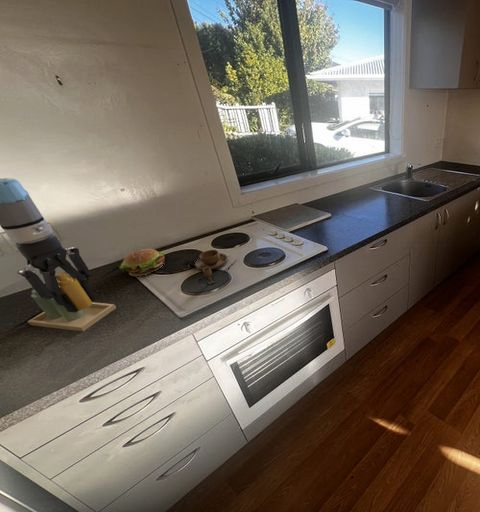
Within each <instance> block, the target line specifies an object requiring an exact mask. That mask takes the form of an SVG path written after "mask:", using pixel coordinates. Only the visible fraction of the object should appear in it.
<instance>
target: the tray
mask: <svg viewBox="0 0 480 512" xmlns="http://www.w3.org/2000/svg"><path fill="white" fill-rule="evenodd" d="M116 309H117V306H116V305H115V303H114V304H113V303H103V302H95V301H92V305H91V306H89V307H88V308H86V309H83V311H84V315H83V316H81V317H80V318H78V319H75V320H72V321H66V320H65V319H64V318H63V317H60V318H57V319H49V318H48V316H47V315H46V314H45V313H44V312H43V311H42V312H41V313H39V314H37V315H36V316H34V317H33V318H31V319H29V320H28V321H27V323H28V324H29V325H30V326H34V327H43V328H51V329H52V328H53V329H62V330H69V331H79V332H85V331H86V330H88V329H89V328H90V327H92V326H93V325H95V324H96V323H97V322H99V321H100V320H101V319H103V318H104V317H106V316H107V315H108V314H110V313H112V312H113V311H115V310H116Z"/></svg>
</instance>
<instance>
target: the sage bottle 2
mask: <svg viewBox="0 0 480 512" xmlns="http://www.w3.org/2000/svg"><path fill="white" fill-rule="evenodd" d="M49 300H50V301H51V303H52V304H53V305H54V306H55V308H56V309H57V310H58V312H59V313H60V314H61V315H62V317H63V318H64V319H65V320H66V321H72V320H75V319H78V318H80V317H81V316H83V315H84V311H83V310H80V311H77V312H68V311H67V310H66V308H65V307H64V306H62V305H58V304H57V302H56V301H55V300H54V298H52V299H49Z"/></svg>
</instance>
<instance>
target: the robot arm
mask: <svg viewBox="0 0 480 512" xmlns="http://www.w3.org/2000/svg"><path fill="white" fill-rule="evenodd" d="M0 227H1V229H2V230H3V231H4V233H5V234H6V235H7V237H8V238H9V240H11V242H12V243H13V244H15V245H14V246H15V248H17V250H18V251H19V253H20V254H21V255H22V256H23V257H24V258H25V259H26V264H27V265H26V266H24V268H23V269H17V271H16V273H17V274H18V275H20V276H22V277H23V278H25V279H26V281H27V282H28V283H29V284H30V287H31V286H32V287H33V288H34V289H35V290H36V292H37V293H38V294H39V295H40V297H41V298H45V299H52V298H54V300H55V301H56V302H57V304H58V305H62V306H64V307H65V308H66V310H67V311H68V312H77V311H78V310H77V308H76V307H75V305H74V304H73V303H72V301H71V300H70V299H69V297H68V296H67V294H63V293H61V290H60V287H59V284H58V282H57V278H56V276H55V275H56V274H57V273H56V269H57V268H60V269H62V270H63V272H65V273H66V274H67V275H68V276H72V278H76V279H77V280H78V282H79V283H80V285H81V286H82V288H83V289H84V291H85V292H86V293H87V295H88V296H89V298H90V299H91V301H92V302H95V301H96V297H95V296H94V294H93V293H92V292H91V290H92V286H91V284H90V283H89V281H90V279H89V278H91V277H92V275H93V273H91V270H90V269H89V268H88V265H87V264H86V263H85V261H84V259H83V257H82V256H81V255H80V254H81V253H80V249H79V248H78V247H72V246H71V247H67V248H65V247H64V246H62V243H61V241H60V240H59V239H58V237H57V235H56V234H54V233H53V230H52V228H51V227H50V225H49V223H48V222H47V220H45V218H44V216H43V214H42V213H41V212H40V209H39V208H38V207H37V205H36V204H35V202H34V200H33V199H32V197H31V196H30V193H29V192H28V191H27V190H26V189H25V188H24V187H23V185H22V184H21V182H20V181H18V180H17V179H15V178H12V177H5V178H0ZM67 256H68V258H69V260H70V261H71V262H72V263H71V262H69V260H67ZM72 264H73V265H72ZM35 269H38V271H39V273H40V275H42V278H43V280H42V279H41V277H39V275H38V274H36V273H37V271H36V270H35ZM46 286H47V287H46ZM32 287H31V288H32Z"/></svg>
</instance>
